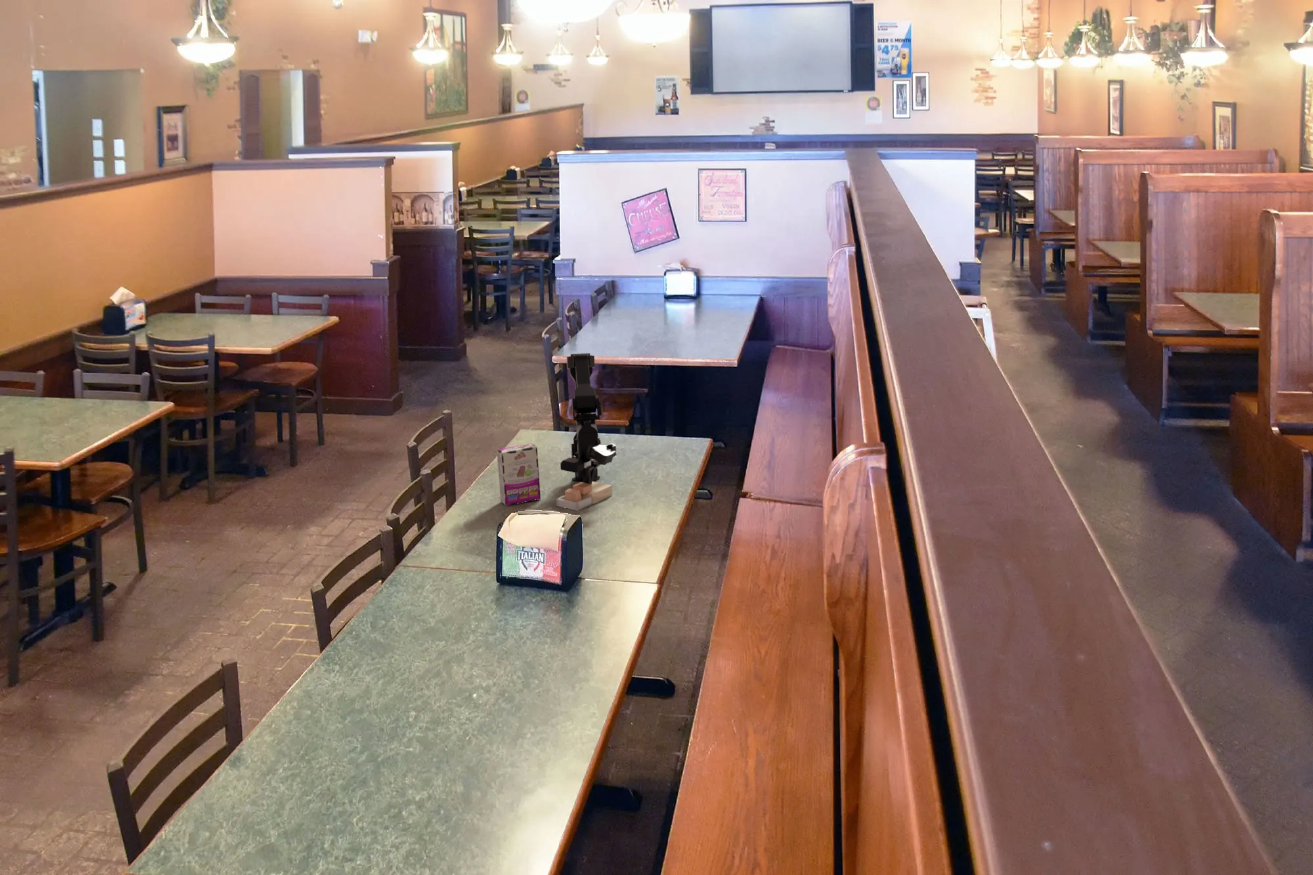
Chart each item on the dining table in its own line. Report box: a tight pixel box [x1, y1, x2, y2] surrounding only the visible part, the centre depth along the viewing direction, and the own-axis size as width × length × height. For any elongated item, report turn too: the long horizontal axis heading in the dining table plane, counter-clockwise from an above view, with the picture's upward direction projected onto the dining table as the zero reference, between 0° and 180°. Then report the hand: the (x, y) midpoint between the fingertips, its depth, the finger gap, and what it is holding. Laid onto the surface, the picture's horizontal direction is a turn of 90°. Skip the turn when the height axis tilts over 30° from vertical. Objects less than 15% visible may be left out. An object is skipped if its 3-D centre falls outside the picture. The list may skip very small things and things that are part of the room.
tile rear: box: [572, 482, 592, 495], centre depth 334 cm, size 4×4×2 cm
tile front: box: [564, 488, 581, 502], centre depth 331 cm, size 4×4×2 cm
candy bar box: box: [496, 443, 542, 507], centre depth 334 cm, size 11×5×16 cm, turn 117°
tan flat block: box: [581, 481, 613, 505], centre depth 338 cm, size 8×9×3 cm
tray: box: [555, 494, 593, 512], centre depth 332 cm, size 8×7×2 cm
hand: (588, 486), depth 336 cm, fingers closed
